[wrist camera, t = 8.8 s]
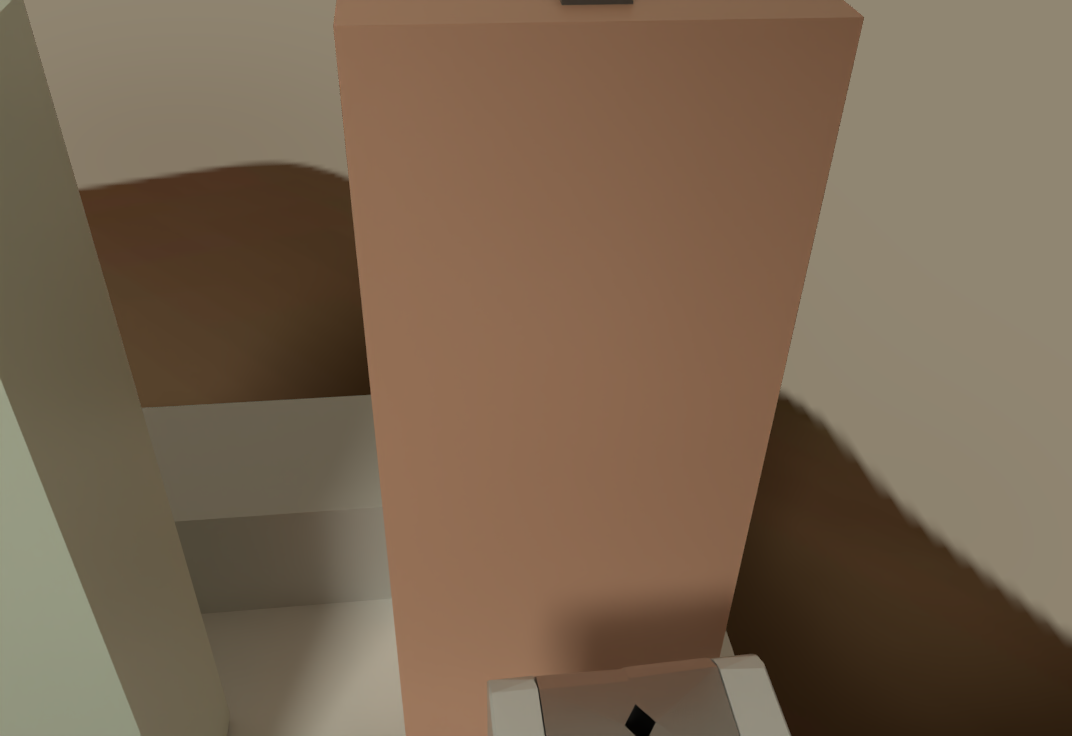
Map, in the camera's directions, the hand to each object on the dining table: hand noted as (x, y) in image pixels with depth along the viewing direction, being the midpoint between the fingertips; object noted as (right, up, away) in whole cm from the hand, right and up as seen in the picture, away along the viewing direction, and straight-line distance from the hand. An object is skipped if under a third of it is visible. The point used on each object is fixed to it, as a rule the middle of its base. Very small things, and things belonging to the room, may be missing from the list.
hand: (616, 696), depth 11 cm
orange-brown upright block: (-1, -2, +7) cm, 7 cm away
